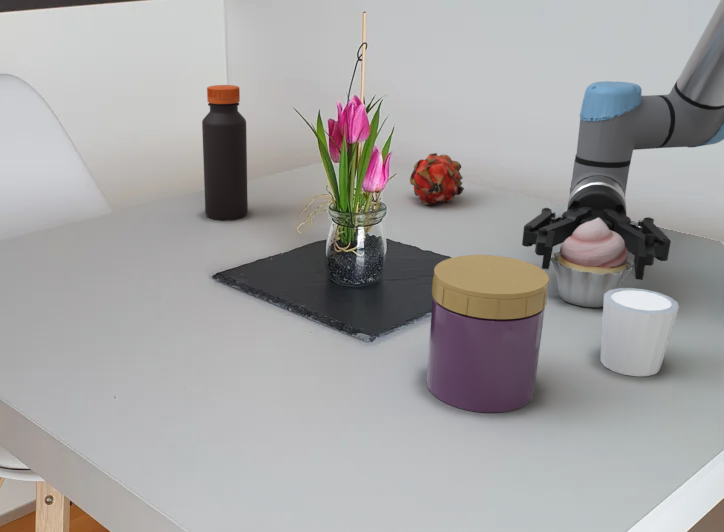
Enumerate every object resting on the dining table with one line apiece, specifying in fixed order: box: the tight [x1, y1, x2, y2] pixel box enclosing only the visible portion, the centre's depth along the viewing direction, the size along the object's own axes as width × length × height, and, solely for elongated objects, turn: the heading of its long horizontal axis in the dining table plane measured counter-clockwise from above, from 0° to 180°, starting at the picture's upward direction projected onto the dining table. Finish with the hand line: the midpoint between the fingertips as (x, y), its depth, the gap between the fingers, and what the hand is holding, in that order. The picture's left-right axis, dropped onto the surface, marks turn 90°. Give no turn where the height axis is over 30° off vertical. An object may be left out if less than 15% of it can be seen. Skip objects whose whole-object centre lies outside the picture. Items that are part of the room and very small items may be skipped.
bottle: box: [201, 84, 249, 221], centre depth 130 cm, size 7×7×20 cm
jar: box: [426, 296, 546, 414], centre depth 78 cm, size 10×10×11 cm
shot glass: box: [599, 287, 680, 377], centre depth 83 cm, size 7×7×7 cm
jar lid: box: [431, 254, 550, 319], centre depth 76 cm, size 10×10×2 cm
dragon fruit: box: [409, 152, 465, 206], centre depth 139 cm, size 8×8×12 cm
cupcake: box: [550, 217, 634, 308], centre depth 99 cm, size 9×9×10 cm
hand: (592, 263), depth 94 cm, fingers closed on cupcake, 9 cm apart
